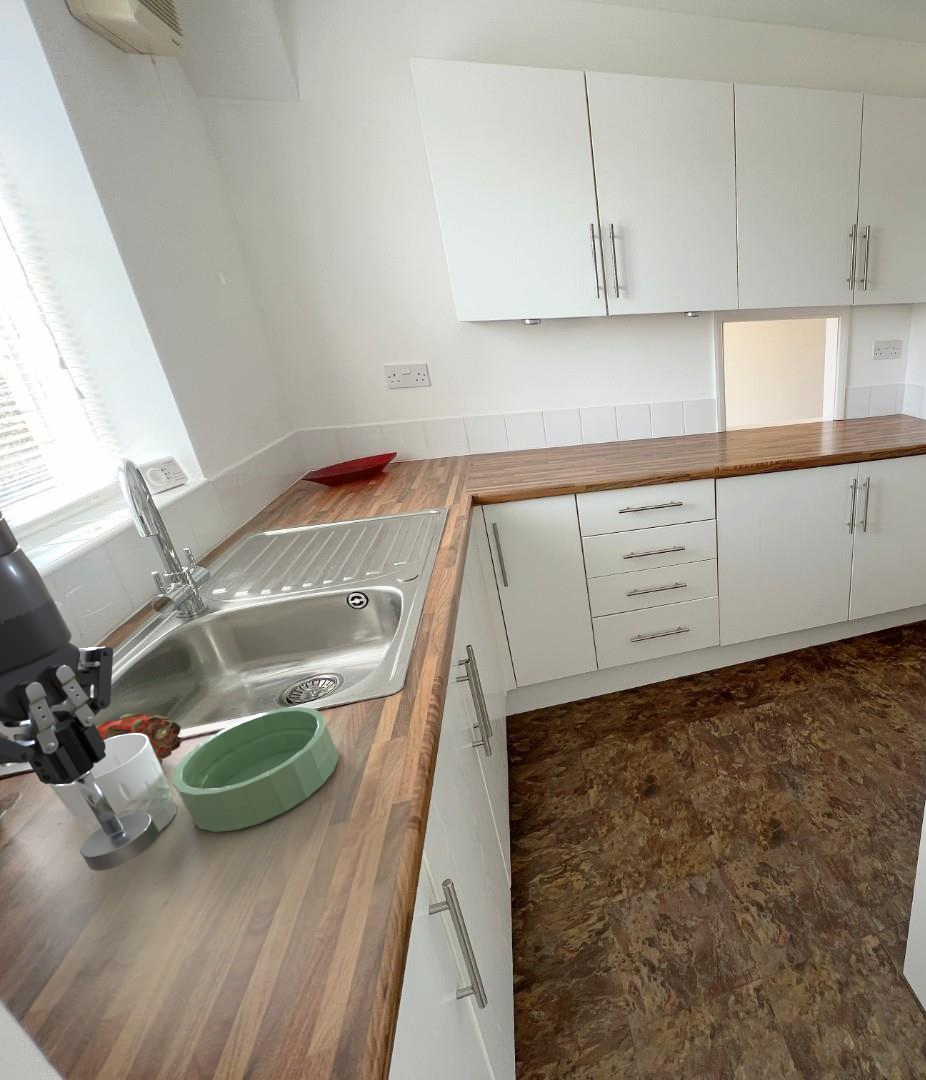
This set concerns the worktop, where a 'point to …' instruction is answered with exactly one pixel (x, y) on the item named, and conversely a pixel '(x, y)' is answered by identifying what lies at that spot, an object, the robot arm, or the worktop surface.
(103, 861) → the weighted base post
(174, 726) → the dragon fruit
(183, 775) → the bowl
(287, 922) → the worktop surface
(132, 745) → the white cup
